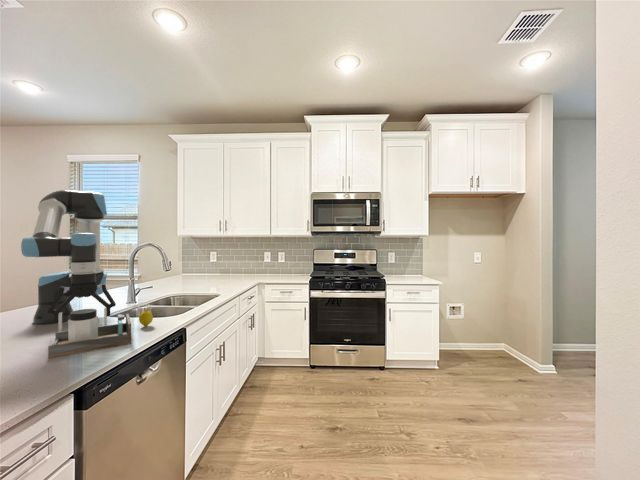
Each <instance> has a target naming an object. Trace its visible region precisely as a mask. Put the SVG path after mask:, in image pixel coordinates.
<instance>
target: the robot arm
mask: <svg viewBox="0 0 640 480" xmlns="http://www.w3.org/2000/svg"><path fill="white" fill-rule="evenodd" d="M105 199H106V198H105V195H104V194H103V193H101V192H95V191H85V190H84V191H83V190H70V189H60V190H56V191H54V192H53V191H52V192H51V193H49V194H47V195H46V196H44V197H42V198H41V200H40V201H39V203H38V206H37V210H38V212H39V214H38V215H37V216H38V217H37V219H36V223H35V227H34V229H33V234H32V236H29V237H23V238H22V239H21V245H20V246H21V247H20V251H21V254H22V255H23V257H25V258H47V257H48V258H52V257H71V258H70V259H71V260H70V271H60V272H51V273H49V274H44V275H41V276H39V278H38V283H37V287H38V289H37V290H38V291H37V292H38V293H37V297H38V299H37V300H38V302H37V308H36V311H35V313H34V315H33V318H32V322H33V324H36V325H47V324H48V325H49V324H58V325H57V328H58V331H57V332H63V331H62V330H63V322H68V320H69V319H70V313H71V312H73V311H74V308H73V307H72V304H71V301H72V300H73V299H75V298H78V299H80V298H89V297H93V298H94V299H95V300H96V301H98V302H99V303H100V304H101V305H102V306H104V307H103V312H104V313H103V314H104V315H103V316H104V317H103V320H104V323H103V326H106V325H107V324H108V320H107V317H111V308H113V307H116V305H117V303H116V302H115V300H114V299H113V297H112V296H111V294H110V293H109V291H108V289H107V285H106V283H107V275H108V273H107V272H104V269H103V268H102V267H101V222H103V220H104V219H105V218H104V217H106V216H107V215H108V213H107V206H106V200H105ZM65 215H74V219H75V221H77V222H78V232H73V233H72V234H71V237H59V235H60V230H61V225H62V220H63V216H65ZM102 294H104V295H105V297H106V298H107V299H106V300H108V302H109V303H108V302H107V301H106V300H105V299H104V298H102V297H101V296H100V295H102Z"/></svg>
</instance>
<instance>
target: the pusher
mask: <svg viewBox="0 0 640 480" xmlns="http://www.w3.org/2000/svg"><path fill="white" fill-rule="evenodd" d="M123 320H125V315H124V314H117V324H118V335H121V334H122V323H123Z"/></svg>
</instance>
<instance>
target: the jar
mask: <svg viewBox="0 0 640 480" xmlns="http://www.w3.org/2000/svg"><path fill="white" fill-rule="evenodd" d="M97 313H98V311H97V309H96V308H84V309H78V310H77V309H76V310H73V312H71V313H70V319H69V320H67V323H68V324H67V325H68V326H67V327H68V329H67V331H68V343H70V342H76V341H83V340H89V339H96V338H98V327H99V316H97Z"/></svg>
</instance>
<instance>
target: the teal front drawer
mask: <svg viewBox="0 0 640 480" xmlns="http://www.w3.org/2000/svg"><path fill="white" fill-rule="evenodd" d="M126 345H132V321H131V317H130V314H129V313H125V322H124V323H123V322H122V334H121V335H118V323H114V324H109V325H106V326H104V325H100V326H99V325H98V338H96V339H89V340H83V341H76V342H70V343H68V330H65V331H64V330H63V331H61V332H58V331H56V332H55V338H54V341H53V343H52V345H48V347H47V349H48V350H47V353H48V354H47V355H48V356H47V357H48V359H51V358H57V357H58V358H59V357H64V356H69V355H75V354H81V353H85V352H86V353H87V352H91V351H97V350H98V351H99V350H103V349H104V350H105V349H110V348H115V347H121V346H126Z"/></svg>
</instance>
